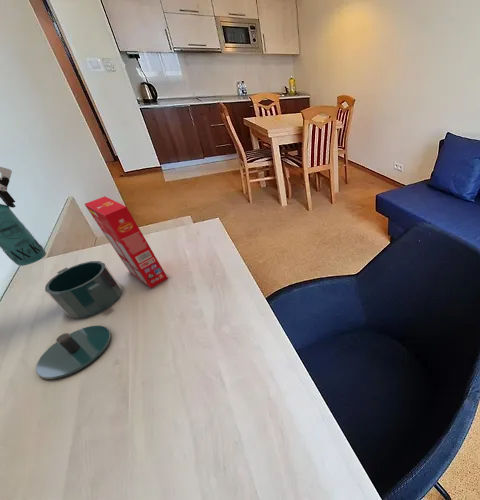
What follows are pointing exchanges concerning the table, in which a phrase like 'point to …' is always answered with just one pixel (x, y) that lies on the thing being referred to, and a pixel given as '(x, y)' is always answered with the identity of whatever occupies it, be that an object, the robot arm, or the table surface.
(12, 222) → the beverage bottle
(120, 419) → the table surface
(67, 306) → the pot
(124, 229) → the food packaging
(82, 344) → the lid
